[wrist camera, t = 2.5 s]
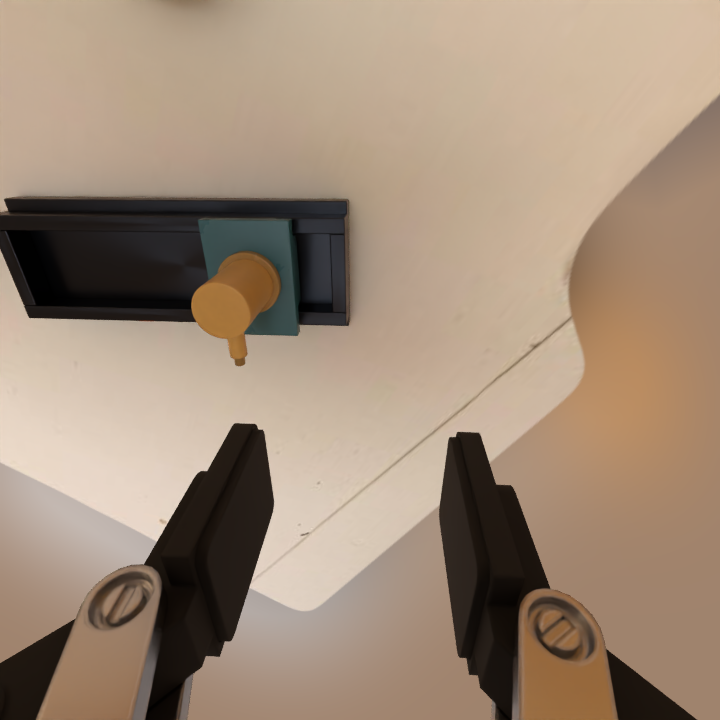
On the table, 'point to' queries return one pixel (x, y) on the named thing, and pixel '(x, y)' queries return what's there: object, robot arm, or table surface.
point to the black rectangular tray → (158, 254)
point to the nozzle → (248, 280)
